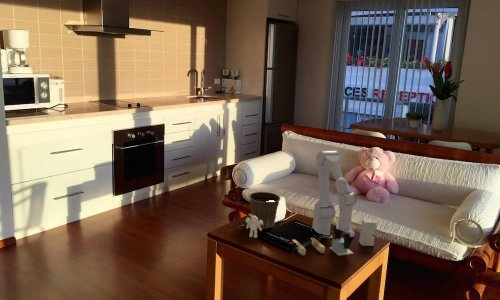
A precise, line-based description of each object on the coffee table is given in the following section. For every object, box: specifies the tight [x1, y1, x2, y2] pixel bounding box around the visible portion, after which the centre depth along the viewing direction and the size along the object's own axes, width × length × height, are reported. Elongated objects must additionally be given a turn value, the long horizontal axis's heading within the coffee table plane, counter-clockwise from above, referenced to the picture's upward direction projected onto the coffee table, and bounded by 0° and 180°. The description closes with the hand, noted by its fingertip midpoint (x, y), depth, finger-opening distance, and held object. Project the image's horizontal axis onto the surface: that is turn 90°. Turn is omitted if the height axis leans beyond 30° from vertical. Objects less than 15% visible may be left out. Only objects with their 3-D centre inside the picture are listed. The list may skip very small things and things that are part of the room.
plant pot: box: [248, 191, 281, 230], centre depth 233 cm, size 16×16×16 cm
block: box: [330, 237, 348, 254], centre depth 209 cm, size 6×4×5 cm
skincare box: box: [358, 219, 377, 247], centre depth 219 cm, size 6×4×12 cm
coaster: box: [329, 246, 354, 256], centre depth 210 cm, size 8×8×1 cm
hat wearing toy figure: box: [245, 213, 263, 239], centre depth 219 cm, size 9×4×12 cm, turn 74°
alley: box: [291, 236, 326, 256], centre depth 210 cm, size 11×12×3 cm
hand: (342, 245), depth 210 cm, fingers open, 7 cm apart
